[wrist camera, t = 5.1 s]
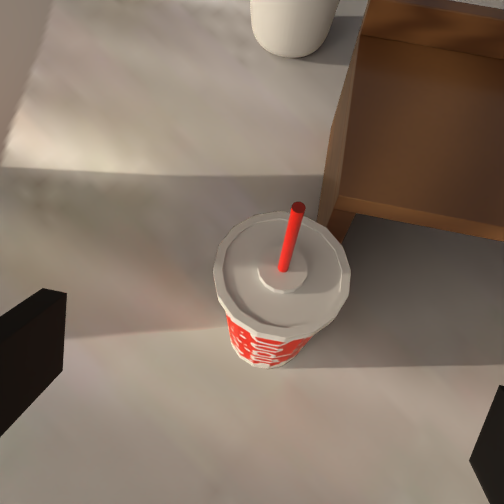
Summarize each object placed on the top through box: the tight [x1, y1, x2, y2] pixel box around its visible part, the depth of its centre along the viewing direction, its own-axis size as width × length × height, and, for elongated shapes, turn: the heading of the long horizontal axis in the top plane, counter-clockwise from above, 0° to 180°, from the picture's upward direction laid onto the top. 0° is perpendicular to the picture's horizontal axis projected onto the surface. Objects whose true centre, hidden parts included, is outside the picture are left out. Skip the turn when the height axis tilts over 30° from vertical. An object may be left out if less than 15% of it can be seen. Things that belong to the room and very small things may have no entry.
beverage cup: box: [213, 202, 351, 369], centre depth 22 cm, size 6×6×14 cm
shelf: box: [317, 0, 504, 244], centre depth 27 cm, size 16×13×11 cm
